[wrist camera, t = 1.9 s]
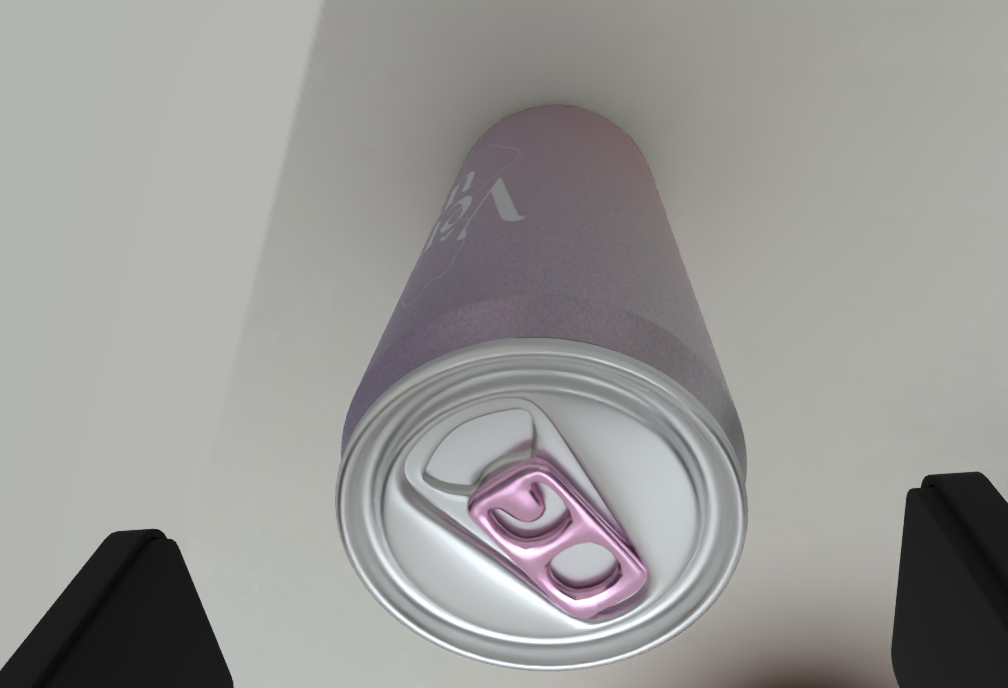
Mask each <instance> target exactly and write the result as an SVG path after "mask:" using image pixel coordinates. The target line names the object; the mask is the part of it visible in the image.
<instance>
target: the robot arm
mask: <svg viewBox="0 0 1008 688" xmlns="http://www.w3.org/2000/svg"><path fill="white" fill-rule="evenodd" d="M891 656H892V664H893V669H894V673H895V677H896V679H897V682H898V685H899V687H900V688H1008V503H1007V502H1006V501H1005V499H1004V498H1003V497H1002V496H1001V494H1000V493H999V492H998V491H997V489H996V488H995V487H994V486H993V485H992V483H991V482H990V481H989V480H988V478H987V477H985V476H984V475H983V474H982V473H979V472H964V473H950V474H935V475H928V476H926V477H925V478H924V479H923V481H922V485H921V488H912V489H910V490H909V491H908V493H907V498H906V506H905V516H904V526H903V537H902V547H901V557H900V567H899V577H898V587H897V597H896V607H895V617H894V627H893V637H892V648H891ZM0 688H234V687H233V680H232V677H231V674H230V672H229V669H228V667H227V664H226V662H225V659H224V657H223V654H222V652H221V650H220V647H219V645H218V642H217V640H216V637H215V635H214V632H213V630H212V628H211V625H210V623H209V620H208V618H207V615H206V613H205V610H204V608H203V606H202V603H201V601H200V598H199V596H198V593H197V591H196V588H195V586H194V583H193V581H192V579H191V576H190V574H189V571H188V569H187V566H186V564H185V561H184V559H183V557H182V554H181V552H180V549H179V547H178V545H177V544H176V542H175V541H173V540H172V539H167V538H166V536H165V534H164V533H163V532H162V531H160V530H158V529H143V530H129V531H117V532H114V533H111V534H110V535H109V536H108V537H107V538H106V539H105V540H104V541H103V542H102V544H101V545H100V546H99V547H98V549H97V550H96V551H95V552H94V554H93V555H92V556H91V558H90V559H89V560H88V561H87V562H86V564H85V565H84V566H83V567H82V569H81V570H80V571H79V573H78V574H77V575H76V576H75V578H74V579H73V580H72V581H71V583H70V584H69V585H68V586H67V588H66V589H65V590H64V591H63V593H62V594H61V595H60V596H59V598H58V599H57V600H56V601H55V603H54V604H53V605H52V607H51V608H50V609H49V610H48V611H47V613H46V614H45V615H44V616H43V618H42V619H41V620H40V622H39V623H38V624H37V625H36V626H35V628H34V629H33V630H32V632H31V633H30V634H29V635H28V637H27V638H26V639H25V640H24V642H23V643H22V644H21V645H20V647H19V648H18V649H17V650H16V652H15V653H14V654H13V655H12V657H11V658H10V659H9V661H8V662H7V663H6V664H5V665H4V667H3V668H2V669H1V671H0Z"/></svg>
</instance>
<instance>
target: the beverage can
mask: <svg viewBox="0 0 1008 688" xmlns="http://www.w3.org/2000/svg"><path fill="white" fill-rule="evenodd" d="M746 471H747V457H746V446H745V439H744V434H743V430H742V426H741V423H740V420H739V417H738V414H737V412H736V409H735V406H734V403H733V400H732V398H731V395H730V392H729V389H728V386H727V384H726V381H725V378H724V375H723V372H722V370H721V367H720V364H719V361H718V358H717V356H716V353H715V350H714V347H713V344H712V342H711V339H710V336H709V333H708V331H707V328H706V325H705V322H704V319H703V317H702V314H701V311H700V308H699V305H698V303H697V300H696V297H695V294H694V291H693V289H692V286H691V283H690V280H689V277H688V275H687V272H686V269H685V266H684V263H683V261H682V258H681V255H680V252H679V249H678V247H677V244H676V241H675V238H674V235H673V233H672V230H671V227H670V224H669V221H668V219H667V216H666V213H665V210H664V207H663V205H662V202H661V199H660V196H659V193H658V191H657V188H656V185H655V182H654V179H653V177H652V174H651V171H650V168H649V166H648V164H647V162H646V159H645V158H644V156H643V154H642V152H641V151H640V149H639V148H638V146H637V145H636V144H635V143H634V141H633V140H632V139H631V138H630V137H629V136H628V135H627V134H626V133H625V132H624V131H623V130H622V129H621V128H619V127H618V126H617V125H615V124H614V123H612V122H611V121H609V120H608V119H606V118H604V117H602V116H600V115H598V114H595V113H593V112H590V111H587V110H584V109H580V108H576V107H570V106H542V107H536V108H531V109H527V110H524V111H521V112H518V113H516V114H514V115H511V116H509V117H507V118H506V119H504V120H502V121H501V122H499V123H497V124H496V125H495V126H493V127H492V128H491V129H489V130H488V131H487V132H486V133H485V134H484V135H483V136H482V137H481V138H480V139H479V140H478V141H477V143H476V144H475V145H474V146H473V148H472V149H471V151H470V152H469V154H468V155H467V157H466V159H465V161H464V163H463V165H462V167H461V169H460V171H459V174H458V176H457V178H456V180H455V182H454V184H453V186H452V189H451V191H450V193H449V195H448V197H447V199H446V201H445V203H444V206H443V208H442V210H441V212H440V214H439V216H438V218H437V220H436V223H435V225H434V227H433V229H432V231H431V233H430V235H429V238H428V240H427V242H426V244H425V246H424V248H423V250H422V252H421V255H420V257H419V259H418V261H417V263H416V265H415V267H414V269H413V272H412V274H411V276H410V278H409V280H408V282H407V284H406V287H405V289H404V291H403V293H402V295H401V297H400V299H399V301H398V304H397V306H396V308H395V310H394V312H393V314H392V316H391V318H390V321H389V323H388V325H387V327H386V329H385V331H384V333H383V336H382V338H381V340H380V342H379V344H378V346H377V348H376V350H375V353H374V355H373V357H372V359H371V361H370V363H369V365H368V368H367V370H366V372H365V374H364V376H363V378H362V380H361V382H360V385H359V387H358V389H357V391H356V393H355V395H354V397H353V400H352V402H351V404H350V407H349V410H348V413H347V416H346V420H345V424H344V429H343V436H342V446H341V463H340V467H339V471H338V476H337V483H336V496H335V506H336V518H337V525H338V530H339V534H340V538H341V541H342V544H343V547H344V549H345V552H346V554H347V556H348V559H349V561H350V563H351V565H352V567H353V569H354V570H355V572H356V574H357V576H358V577H359V579H360V580H361V582H362V583H363V585H364V586H365V587H366V589H367V590H368V591H369V592H370V594H371V595H372V596H373V597H374V598H375V600H376V601H377V602H378V603H379V604H380V605H381V606H382V607H383V608H384V609H385V610H386V611H387V612H388V613H389V614H391V615H392V616H393V617H394V618H395V619H397V620H398V621H399V622H400V623H401V624H403V625H404V626H406V627H407V628H408V629H410V630H411V631H413V632H414V633H416V634H418V635H419V636H421V637H422V638H424V639H426V640H428V641H430V642H431V643H433V644H435V645H437V646H439V647H441V648H444V649H446V650H448V651H450V652H453V653H455V654H458V655H460V656H463V657H466V658H469V659H472V660H475V661H479V662H483V663H486V664H490V665H495V666H500V667H505V668H512V669H519V670H529V671H569V670H579V669H588V668H593V667H599V666H604V665H608V664H612V663H616V662H619V661H623V660H626V659H629V658H632V657H634V656H637V655H640V654H642V653H645V652H647V651H649V650H651V649H654V648H656V647H657V646H659V645H661V644H663V643H665V642H667V641H668V640H670V639H672V638H673V637H675V636H677V635H678V634H680V633H681V632H682V631H684V630H685V629H686V628H688V627H689V626H690V625H692V624H693V623H694V622H695V621H696V620H697V619H699V618H700V617H701V616H702V615H703V614H704V613H705V612H706V611H707V610H708V609H709V608H710V607H711V605H712V604H713V603H714V602H715V601H716V600H717V598H718V597H719V596H720V594H721V593H722V591H723V590H724V589H725V587H726V585H727V584H728V582H729V580H730V579H731V577H732V575H733V573H734V571H735V569H736V567H737V565H738V562H739V559H740V556H741V554H742V550H743V547H744V543H745V538H746V532H747V521H748V502H747V493H746V487H745V482H746Z"/></svg>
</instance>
